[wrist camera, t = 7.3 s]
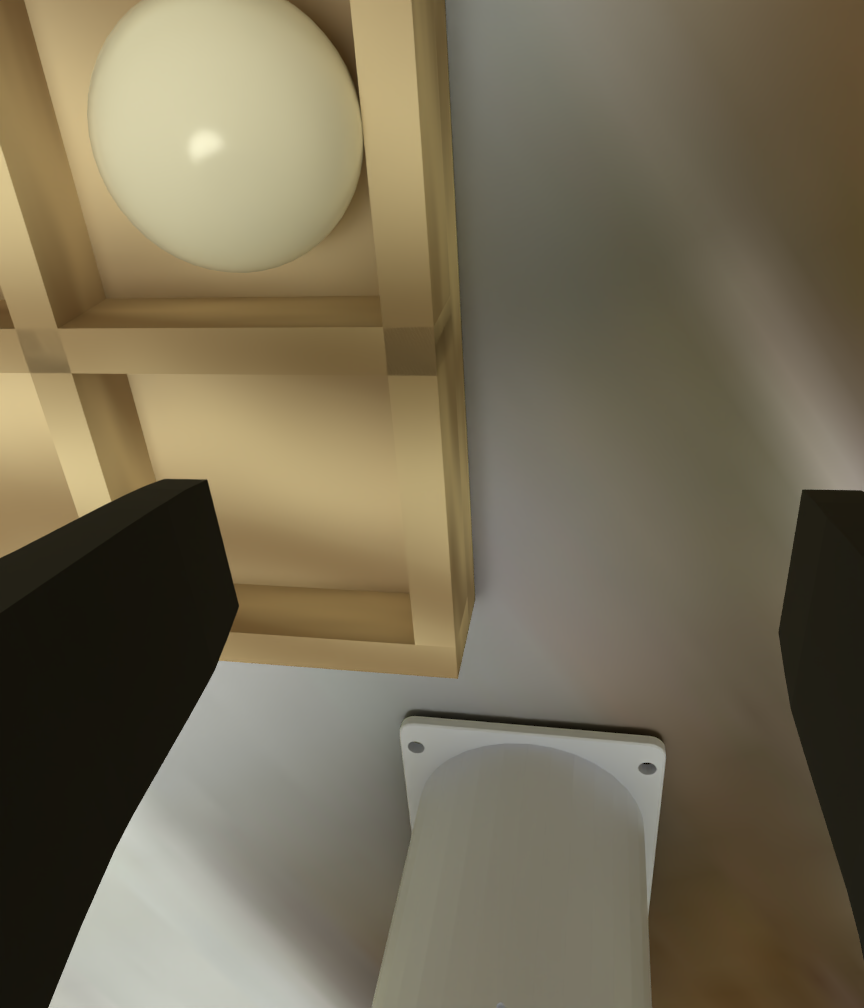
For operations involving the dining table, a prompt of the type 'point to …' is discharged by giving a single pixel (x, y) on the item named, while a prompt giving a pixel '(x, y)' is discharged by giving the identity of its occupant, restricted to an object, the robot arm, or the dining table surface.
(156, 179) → the white egg
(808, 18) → the dining table surface
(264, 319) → the egg rack
